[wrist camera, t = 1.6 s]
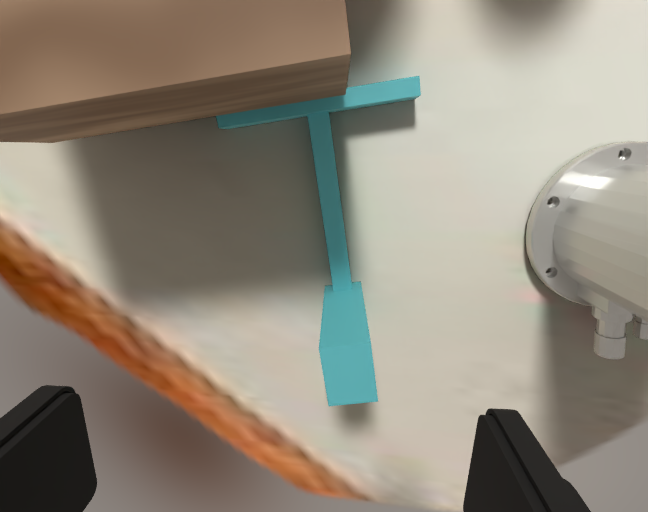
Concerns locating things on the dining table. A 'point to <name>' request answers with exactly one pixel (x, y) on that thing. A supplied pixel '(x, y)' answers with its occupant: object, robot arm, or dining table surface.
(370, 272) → the dining table surface
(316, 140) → the scraper
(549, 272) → the robot arm
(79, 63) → the cabinet
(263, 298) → the dining table surface
